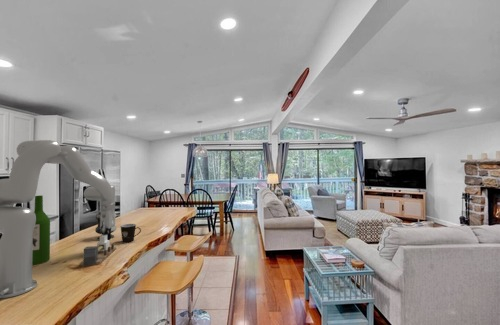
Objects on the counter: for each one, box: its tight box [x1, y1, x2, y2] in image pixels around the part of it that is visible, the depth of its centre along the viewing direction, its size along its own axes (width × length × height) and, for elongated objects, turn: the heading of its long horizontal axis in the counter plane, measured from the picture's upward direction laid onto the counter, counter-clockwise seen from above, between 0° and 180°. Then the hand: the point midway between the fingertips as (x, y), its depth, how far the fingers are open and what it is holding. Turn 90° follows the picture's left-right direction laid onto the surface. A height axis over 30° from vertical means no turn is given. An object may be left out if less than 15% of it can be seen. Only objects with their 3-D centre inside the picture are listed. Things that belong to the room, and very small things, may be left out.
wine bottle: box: [32, 195, 51, 266], centre depth 121 cm, size 9×9×32 cm
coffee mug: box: [120, 223, 142, 244], centre depth 153 cm, size 12×9×10 cm
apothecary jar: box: [94, 210, 117, 241], centre depth 162 cm, size 12×12×18 cm
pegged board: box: [78, 243, 117, 267], centre depth 128 cm, size 22×9×8 cm, turn 11°
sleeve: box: [96, 234, 111, 251], centre depth 133 cm, size 5×4×8 cm
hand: (107, 239), depth 138 cm, fingers closed
